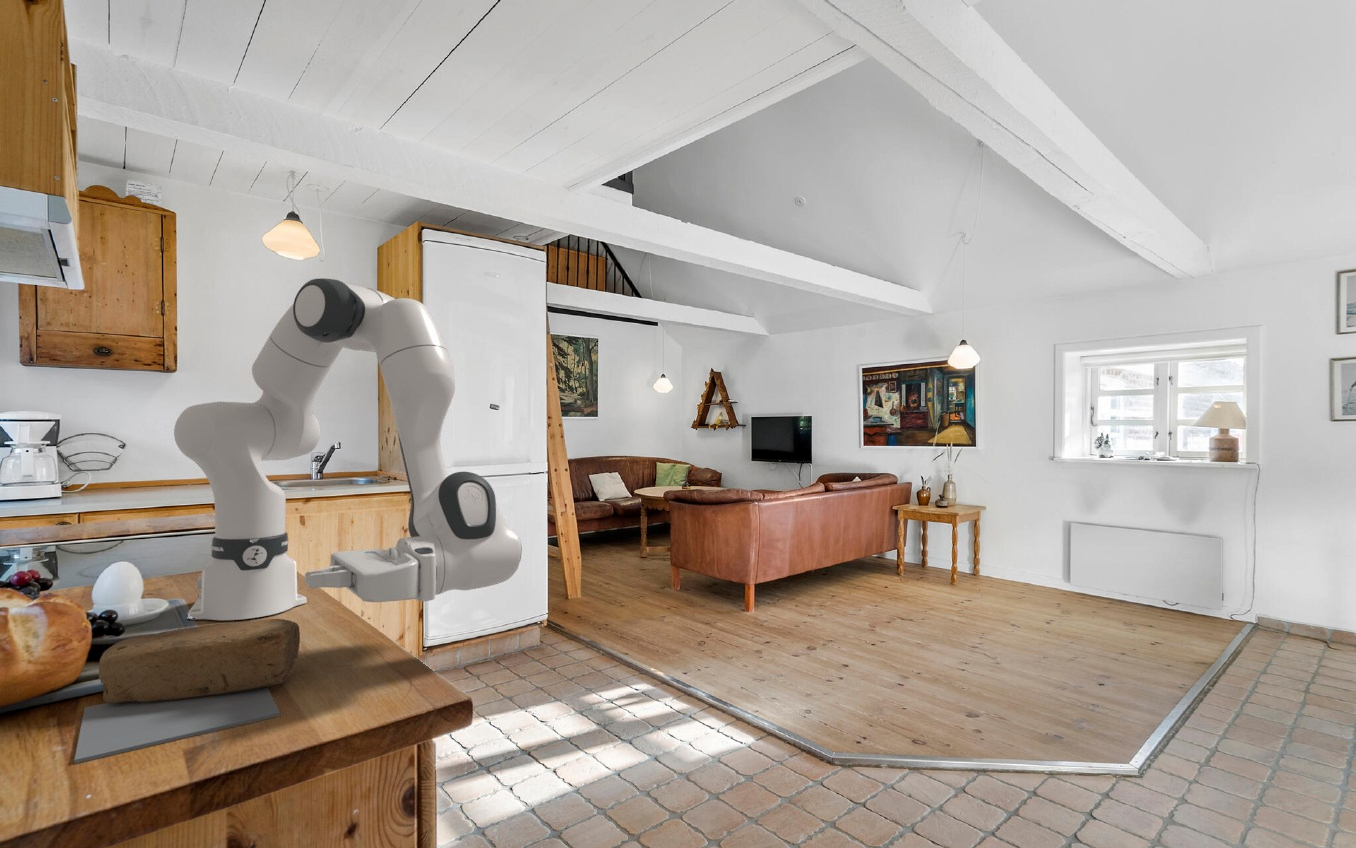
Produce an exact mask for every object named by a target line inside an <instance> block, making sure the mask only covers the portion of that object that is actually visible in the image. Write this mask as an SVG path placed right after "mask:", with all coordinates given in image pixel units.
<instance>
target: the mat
mask: <svg viewBox="0 0 1356 848" xmlns="http://www.w3.org/2000/svg"><path fill="white" fill-rule="evenodd" d="M280 716H281V711H280V709H279V708H278V706H277V704H276V702H275V700H274V697H273V696H272V693H271V692H270V690H269V686H267V687H260V688H256V689H250V690H243V691H236V692H231V693H223V694H215V695H208V696H200V697H192V698H185V699H173V700H162V701H156V702H139V701H135V702H124V703H117V704H111V703H108V702H105V703H102V704H101V703H100V704H96V705H90V706H85V707H84V709H83V714H82V719H81V725H80V730H79V735H78V741H77V746H76V750H75V755H74V759H73V760H74V763H73V765H75V764H80V763H83V762H88V761H92V760H93V761H94V760H98V759H101V758H105V757H110V756H114V755H118V754H124V753H127V752H131V751H135V750H140V749H144V748H148V747H152V746H153V747H154V746H157V745H160V744H161V745H162V744H166V743H169V742H173V741H174V742H175V741H177V740H182V739H186V738H187V739H188V738H191V737H195V736H199V735H204V734H207V733H212V732H217V731H220V730H224V729H228V728H230V729H231V728H233V727H237V726H241V725H242V726H243V725H246V724H250V723H255V722H259V721H263V720H264V721H265V720H268V719H271V718H272V719H273V718H277V717H280Z"/></svg>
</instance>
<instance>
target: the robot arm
mask: <svg viewBox="0 0 1356 848" xmlns="http://www.w3.org/2000/svg"><path fill="white" fill-rule="evenodd" d="M343 348H344V349H348V350H353V351H362V352H363V351H364V352H369V353H370V352H371V353H376V358H377V363H378V365H379V369H380V373H381V376H382V377H381V378H382V380H383V383H384V385H385V389H386V392H387V396H388V400H389V402H390V403H389V404H390V406H391V410H392V415H393V418H394V423H395V426H396V430H397V431H396V432H397V437H398V441H399V447H400V453H401V457H402V461H403V465H404V471H405V474H406V479H407V483H408V488H409V493H410V511H409V516H408V523H407V525H408V532H409V536H408V537H401V538H399V539H398V540H397V542H396V545H395V547H394V546H392V547H389V548H387V549H383V548H369V549H354V550H342V551H341V550H340V551H335V552H333V553H331V555H330V562H329V563H330V564H329V565H330V566H328V567H324V568H321V569H316V570H310V571H309V570H308V571H306V572H305V573H304V583H305V585H307V586H308V587H309V588H310V589H319V588H331V589H332V588H334V589H336V588H337V589H341V588H346V589H348V590H349V591H350V592H352V593H353V594H354V595H355V596H356V597H358V598H359V599H360V600H361V601H362V602H367V603H386V602H387V603H388V602H399V601H408V600H416V601H418V602H430V601H433V600H435V599H436V596H437V595H441V594H444V593H445V592H449V591H453V590H459V591H471V590H476V589H482V588H487V587H490V586H496V585H499V584H502V583H504V582H506V581H508V580H509V579H510V578H512V577H513V575H514V574H516V572H517V571H518V569H519V566H520V562H521V561H522V550H523V548H522V542H521V541H522V540H521V537H520V535H519V534H518V533H517V532H516V530H514V529H513V528H511V527H510V526H509V524H508V523H507V521H506V520H505V519H504V517H503V513H502V512H501V511H500V509H499V507H498V504H497V502H496V500H497V499H496V495H495V491H494V489H493V488H492V486H491V484H490V483H489V482H488V481H487V479H485V478H484V477H483V476H481V475H479V474H477V473H474V472H471V471H456V472H453V473H451V474H449V475H448V474H447V470H446V469H447V468H446V466H445V461H444V456H443V452H442V446H441V437H442V436H441V434H442V429H443V425H444V422H445V419H446V416H447V413H448V411H449V408H450V405H451V403H452V400H453V398H454V395H455V392H456V391H455V390H456V380H455V373H454V366H453V364H452V363H453V362H452V360H451V357H450V354H449V353H450V352H449V350H448V349H447V345H446V342H445V340H444V338H443V335H442V333H441V330H440V328H439V326H438V324H437V322H436V321H435V319H434V316H433V315H432V313H431V312H430V310H429V309H428V307H427V306H426V305H425V304H423V303H422V302H421V301H418V300H416V299H413V298H408V297H406V298H405V297H402V298H401V297H400V298H398V297H392V296H390V295H388V294H387V293H384V292H382V291H379V290H376V289H373V288H370V287H364V286H360V285H356V284H352V283H351V284H350V283H346V282H345V283H344V282H343V281H340V280H338V279H334V278H333V279H332V278H313V279H310V280H308V281H307V282H305V284H303V285H302V286H301V287H300V289H299V290H298V292H296V295H295V298H294V301H293V304H291V305H290V307H289V308H288V309H287V311H285V313H284V314H283V316H282V317H281V318H280V319H279V321H278V322H277V323H276V324H275V327H274V328H273V330H272V331H271V332H270V334H269V337H267V339H266V342H265V343H264V344H263V347H262V348H261V350H260V351H259V353H258V355H257V357H256V358H255V360H254V362H253V363H252V366H251V373H252V377H253V380H254V382H255V384H256V385H257V386H258V388H259V389H260V390H262V394H261V396H260V398H259V399H258V400H256V401H255V402H237V401H236V402H235V401H215V402H214V401H213V402H206V403H200V404H195V405H191V406H188V407H186V408H185V409H184V410H183V411H182V412H181V413H180V414H179V415H178V418H177V419H176V422H175V425H174V428H173V436H174V437H173V438H174V441H175V444H176V446H177V447H178V450H179V451H181V453H182V455H184V456H185V457H187V458H188V459H190V460H192V461H193V462H194V463H195V464H196V465H197V466H198V467H199V468H200V469H201V471H202V472H203V473H204V475H205V476H206V478H207V480H208V483H209V485H210V488H211V490H212V493H213V495H212V496H213V499H214V500H213V501H214V518H215V519H214V521H215V523H214V526H215V527H214V532H215V533H214V535H215V536H214V537H212V541H211V546H210V549H211V555H210V556H211V558H213V559H212V560H211V562H210V564H208V566H206V567H205V569H204V570H202V571H201V574H200V575H199V576H198V577H197V579H196V588H197V590H201V591H199V592H198V594H197V597H198V598H197V600H196V601H195V602H194V604H193V605H192V606H191V607H190V609H189V611H188V612H189V613H188V612H187V613H188V614H190V616H192V617H193V618H195V619H194V620H212V621H235V620H236V621H238V620H248V619H255V618H260V617H261V618H262V617H266V616H272V615H276V614H279V613H282V612H287V611H288V610H290V609H292V608H294V607H297V606H300V605H304V604H307V602H308V601H307V599H308V598H307V596H305V595H302V594H300V593H298V578H297V577H298V576H297V573H298V572H297V562H296V561H295V560H294V559H293V558H291V557H290V556H289V555H288V554H287V552H288V548H289V547H288V546H289V537H288V535H289V534H288V532H286V516H287V515H286V512H287V511H286V509H287V508H286V506H287V504H286V499H287V498H286V497H287V496H286V494H285V492H284V490H283V489H282V488H281V486H279V485H277V484H275V483H273V482H272V481H270V480H269V479H268V477H267V476H266V474H265V472H264V469H263V465H262V462H265V461H286V460H291V459H295V458H298V457H302V456H305V455H308V454H310V453H312V451H314V449H316V446H317V445H318V443H319V440H320V437H321V427H320V423H319V421H318V419H317V417H316V416H315V414H314V412H313V405H314V401H315V400H314V399H315V397H316V395H317V393H318V391H319V389H320V387H321V385H322V383H324V380H325V378H326V376H327V375H328V373H329V372H330V370H331V368H332V366H333V364H334V363H335V361H336V360H337V359H338V356H339V354H340V352H341V351H342V349H343Z"/></svg>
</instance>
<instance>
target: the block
mask: <svg viewBox="0 0 1356 848" xmlns="http://www.w3.org/2000/svg"><path fill="white" fill-rule="evenodd" d="M300 632H301V631H300V626H299V624H298V623H297V622H295V621H291V620H289V619H284V618H281V619H280V618H272V619H271V618H269V619H256V620H255V619H254V620H253V619H252V620H244V621H233V622H232V621H231V622H222V623H215V624H214V623H213V624H205V625H200V626H199V625H198V626H191V627H184V628H178V629H174V630H167V631H161V632H158V633H152V634H151V633H150V634H144V635H139V636H134V637H130V638H129V637H128V638H126V639H123V640H121V641H118V642H116V643H114V644H113V645H112V646H110V647H108V648H107V649H105V650H104V651H103V653H102V654H101V657H100V659H99V666H98V678H99V681H100V683H101V684H102V685H103V688H104V690H103V693H102V698H103V702H105V703H111V704H117V703H124V702H135V701H139V702H156V701H162V700H173V699H185V698H192V697H200V696H208V695H215V694H223V693H231V692H236V691H243V690H250V689H256V688H260V687H271V686H275V685H279V684H282V683H283V682H284V681H286V680H287V679H288V678H289V677H290V676H291V673H292V672H293V670H294V667H295V664H296V662H295V659H297V658H298V653H299V650H300V640H301V635H300Z"/></svg>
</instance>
